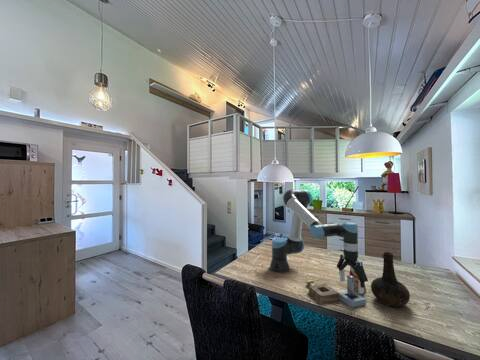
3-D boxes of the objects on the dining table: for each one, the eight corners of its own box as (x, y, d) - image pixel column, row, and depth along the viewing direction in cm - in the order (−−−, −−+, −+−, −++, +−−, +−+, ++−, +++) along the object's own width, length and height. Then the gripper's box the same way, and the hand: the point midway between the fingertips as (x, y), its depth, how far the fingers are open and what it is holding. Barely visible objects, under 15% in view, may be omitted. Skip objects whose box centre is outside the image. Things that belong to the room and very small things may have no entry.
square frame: (337, 297, 121) (337, 292, 121) (351, 295, 124) (351, 290, 124) (351, 307, 111) (351, 302, 111) (365, 304, 114) (365, 299, 114)
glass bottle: (410, 301, 117) (409, 252, 118) (409, 316, 104) (408, 261, 104) (374, 290, 129) (373, 246, 129) (368, 303, 115) (367, 253, 116)
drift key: (306, 285, 136) (306, 280, 136) (312, 284, 137) (312, 279, 137) (314, 291, 127) (314, 287, 127) (320, 290, 129) (320, 286, 129)
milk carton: (350, 285, 136) (349, 255, 137) (366, 289, 130) (365, 258, 131) (347, 290, 129) (346, 258, 130) (364, 295, 123) (363, 262, 124)
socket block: (308, 292, 127) (308, 286, 127) (325, 289, 130) (325, 283, 130) (321, 303, 115) (321, 296, 116) (339, 299, 119) (338, 292, 119)
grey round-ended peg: (345, 299, 119) (345, 275, 119) (351, 298, 120) (351, 274, 120) (351, 303, 115) (350, 278, 115) (357, 302, 116) (356, 277, 116)
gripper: (330, 244, 129) (330, 278, 129) (363, 257, 105) (364, 299, 105) (340, 243, 131) (340, 276, 131) (375, 256, 107) (376, 297, 107)
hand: (351, 286), depth 118 cm, fingers open, 13 cm apart
